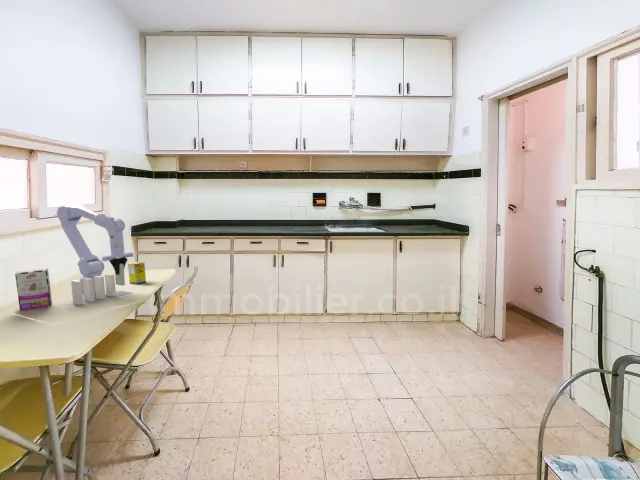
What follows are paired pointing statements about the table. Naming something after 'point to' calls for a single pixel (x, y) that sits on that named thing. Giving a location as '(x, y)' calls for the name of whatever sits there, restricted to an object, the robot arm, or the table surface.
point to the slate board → (118, 294)
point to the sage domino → (120, 276)
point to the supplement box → (137, 272)
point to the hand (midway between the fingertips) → (119, 274)
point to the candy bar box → (33, 289)
